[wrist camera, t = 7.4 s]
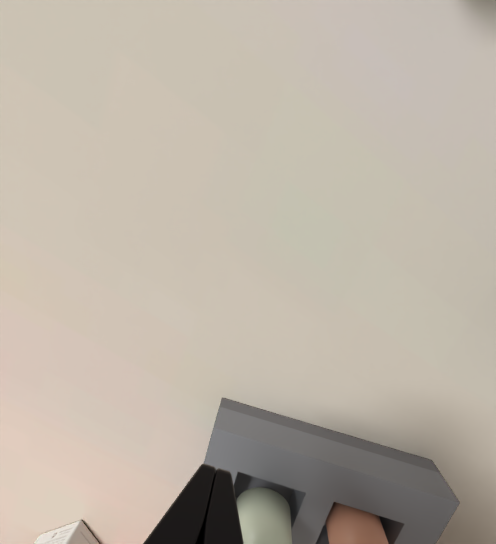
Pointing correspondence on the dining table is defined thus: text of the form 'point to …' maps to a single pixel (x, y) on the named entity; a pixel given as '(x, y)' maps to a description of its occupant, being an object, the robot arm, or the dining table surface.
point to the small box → (68, 535)
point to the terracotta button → (353, 526)
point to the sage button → (264, 517)
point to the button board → (329, 475)
